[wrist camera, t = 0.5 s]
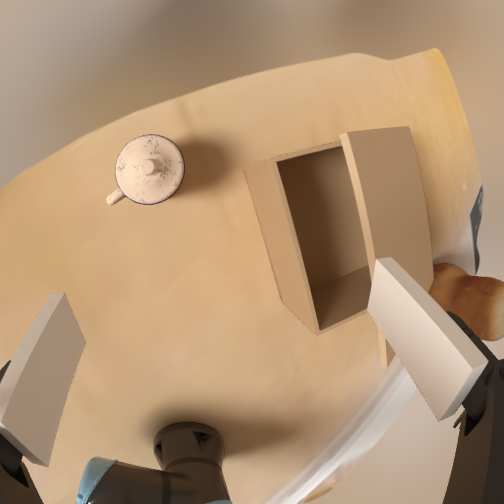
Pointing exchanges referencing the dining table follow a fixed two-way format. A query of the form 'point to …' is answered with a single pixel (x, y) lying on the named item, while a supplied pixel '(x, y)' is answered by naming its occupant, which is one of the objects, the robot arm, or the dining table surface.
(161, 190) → the teacup with lid
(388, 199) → the carton lid
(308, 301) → the carton
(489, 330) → the butternut squash
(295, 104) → the dining table surface
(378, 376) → the dining table surface
